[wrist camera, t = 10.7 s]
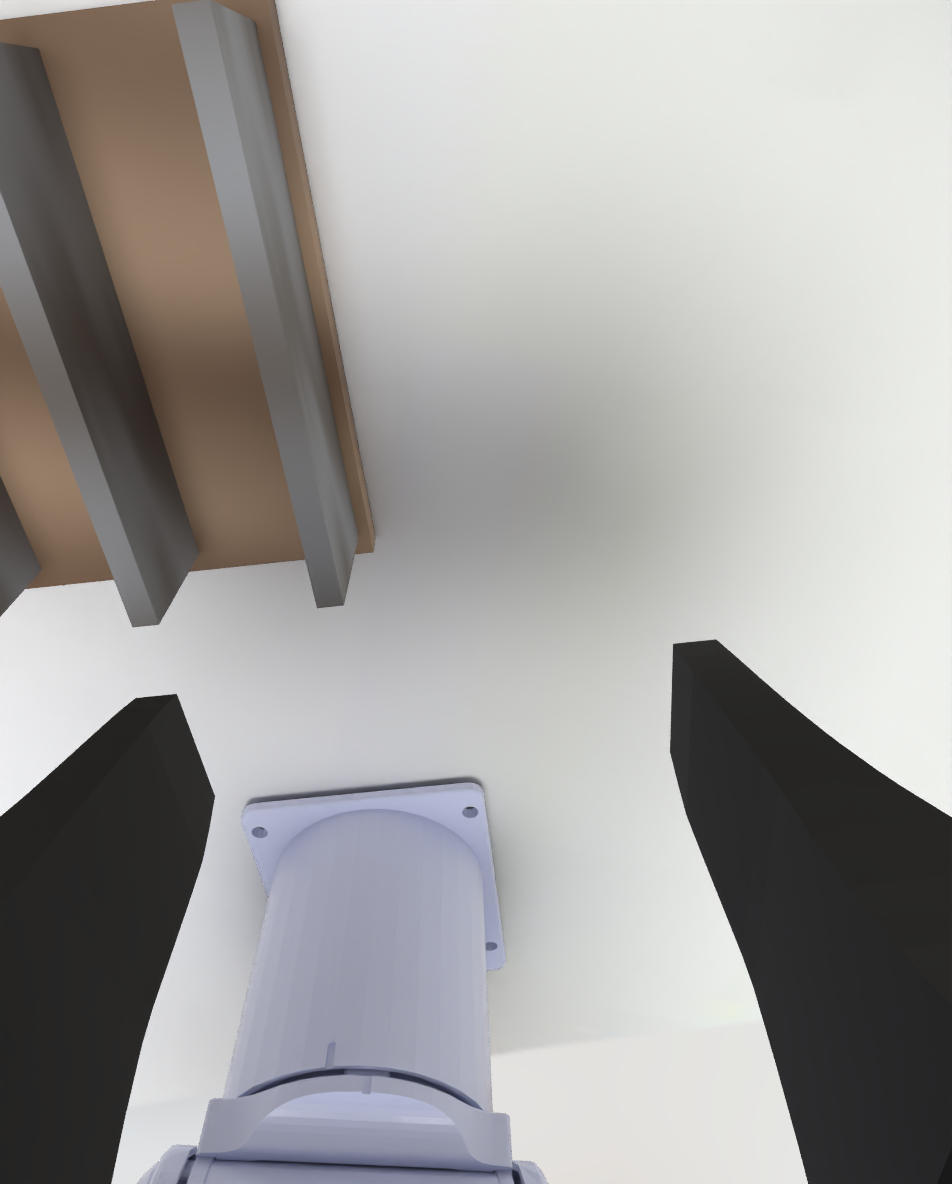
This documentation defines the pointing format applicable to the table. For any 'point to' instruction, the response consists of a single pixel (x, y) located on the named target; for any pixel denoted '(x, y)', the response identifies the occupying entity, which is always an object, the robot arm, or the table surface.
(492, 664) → the table surface
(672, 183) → the table surface
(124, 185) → the dish rack
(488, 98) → the table surface
